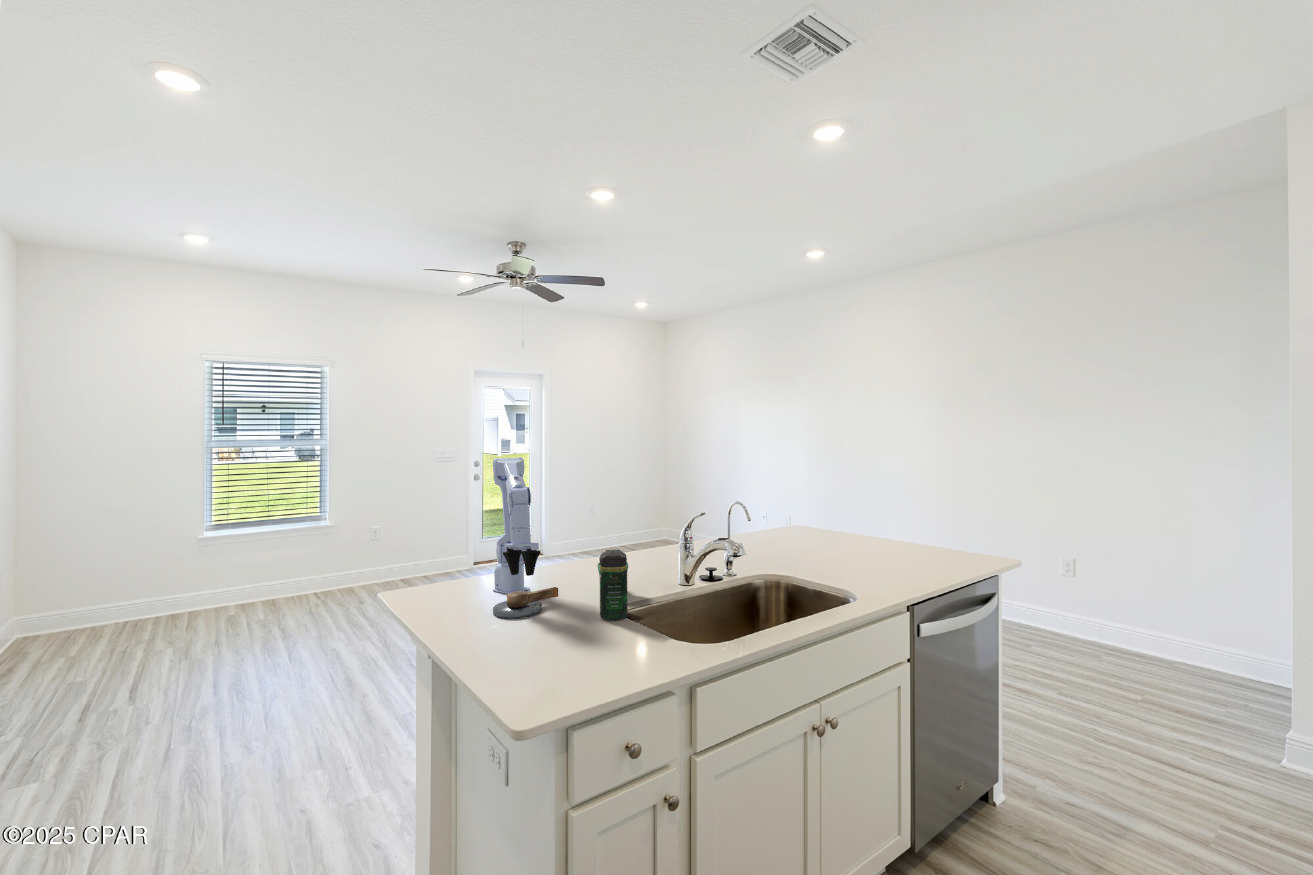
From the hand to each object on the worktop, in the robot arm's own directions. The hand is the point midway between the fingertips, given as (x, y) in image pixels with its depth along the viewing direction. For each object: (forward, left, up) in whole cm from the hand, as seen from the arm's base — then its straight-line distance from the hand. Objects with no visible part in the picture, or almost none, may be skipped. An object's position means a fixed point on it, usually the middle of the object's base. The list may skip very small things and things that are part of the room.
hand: (522, 575), depth 174 cm
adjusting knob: (+1, +4, -9) cm, 9 cm away
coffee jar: (+26, +9, -11) cm, 30 cm away
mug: (+12, +27, -11) cm, 32 cm away
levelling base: (-1, -1, -11) cm, 11 cm away
